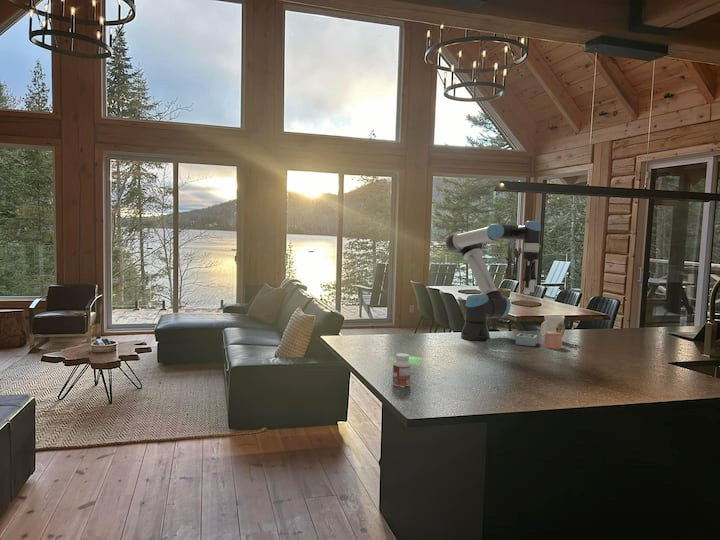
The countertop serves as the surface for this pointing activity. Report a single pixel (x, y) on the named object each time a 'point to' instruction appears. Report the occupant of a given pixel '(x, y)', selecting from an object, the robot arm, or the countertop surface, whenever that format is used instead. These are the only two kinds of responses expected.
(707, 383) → the countertop surface
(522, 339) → the crate
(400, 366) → the pill bottle
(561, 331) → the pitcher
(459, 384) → the countertop surface
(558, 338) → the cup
